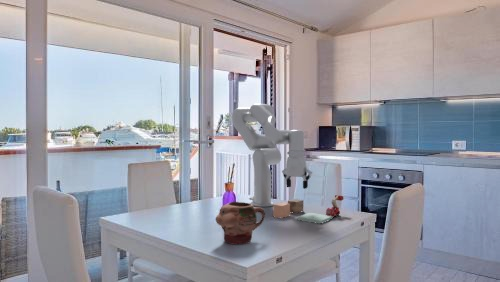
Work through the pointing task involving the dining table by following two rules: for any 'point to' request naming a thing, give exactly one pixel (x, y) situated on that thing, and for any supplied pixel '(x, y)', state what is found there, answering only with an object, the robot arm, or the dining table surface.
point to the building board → (314, 217)
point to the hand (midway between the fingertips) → (296, 187)
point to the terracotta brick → (281, 210)
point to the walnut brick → (296, 205)
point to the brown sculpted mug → (239, 221)
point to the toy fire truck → (334, 207)
